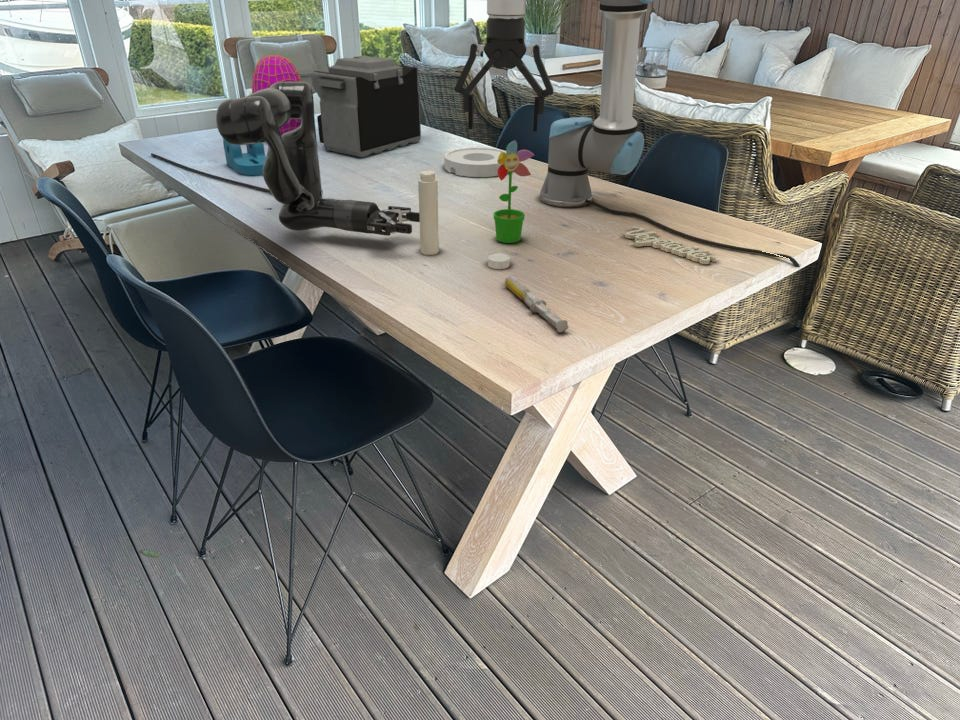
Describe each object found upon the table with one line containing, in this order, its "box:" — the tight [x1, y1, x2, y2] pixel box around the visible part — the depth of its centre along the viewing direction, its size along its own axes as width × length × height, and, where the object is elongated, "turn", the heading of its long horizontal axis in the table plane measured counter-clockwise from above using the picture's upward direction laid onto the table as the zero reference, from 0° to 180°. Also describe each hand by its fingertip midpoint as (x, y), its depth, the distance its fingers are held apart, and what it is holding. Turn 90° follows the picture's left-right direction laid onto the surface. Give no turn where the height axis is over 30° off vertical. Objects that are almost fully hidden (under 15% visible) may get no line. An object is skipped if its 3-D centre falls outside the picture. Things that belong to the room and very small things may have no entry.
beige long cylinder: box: [417, 170, 440, 256], centre depth 162 cm, size 4×4×19 cm
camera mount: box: [222, 138, 266, 176], centre depth 226 cm, size 18×10×10 cm, turn 35°
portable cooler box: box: [310, 55, 422, 159], centre depth 250 cm, size 37×22×30 cm, turn 144°
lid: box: [487, 252, 511, 270], centre depth 160 cm, size 5×5×2 cm
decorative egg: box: [251, 54, 303, 136], centre depth 257 cm, size 19×19×30 cm
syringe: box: [504, 275, 569, 334], centre depth 140 cm, size 25×4×3 cm, turn 21°
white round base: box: [443, 146, 509, 178], centre depth 232 cm, size 23×23×4 cm
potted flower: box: [493, 139, 535, 244], centre depth 168 cm, size 9×8×25 cm
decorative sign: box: [624, 226, 717, 265], centre depth 170 cm, size 26×1×10 cm
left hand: (418, 223), depth 165 cm, fingers open, 8 cm apart
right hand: (502, 129), depth 145 cm, fingers open, 13 cm apart
